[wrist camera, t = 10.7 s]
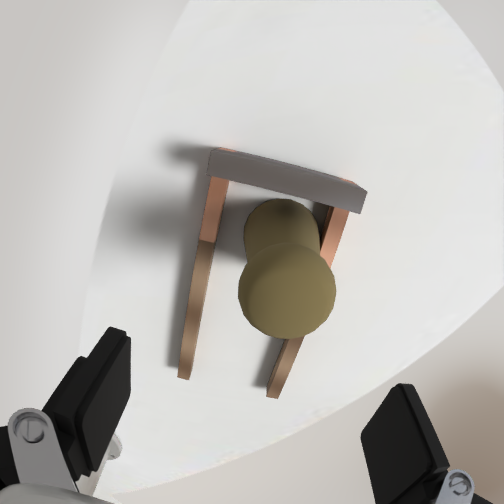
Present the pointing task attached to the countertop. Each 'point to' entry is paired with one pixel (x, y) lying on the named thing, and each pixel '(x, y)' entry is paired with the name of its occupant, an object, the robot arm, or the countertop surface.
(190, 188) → the countertop surface
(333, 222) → the guide channel
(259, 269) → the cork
